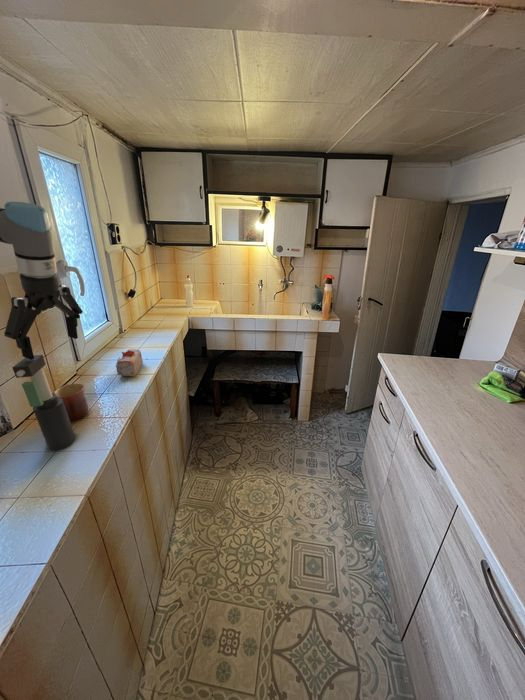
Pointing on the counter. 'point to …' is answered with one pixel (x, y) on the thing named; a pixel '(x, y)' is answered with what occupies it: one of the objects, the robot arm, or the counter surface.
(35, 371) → the spray bottle
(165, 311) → the counter surface
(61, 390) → the mug
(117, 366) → the food item
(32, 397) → the trigger
